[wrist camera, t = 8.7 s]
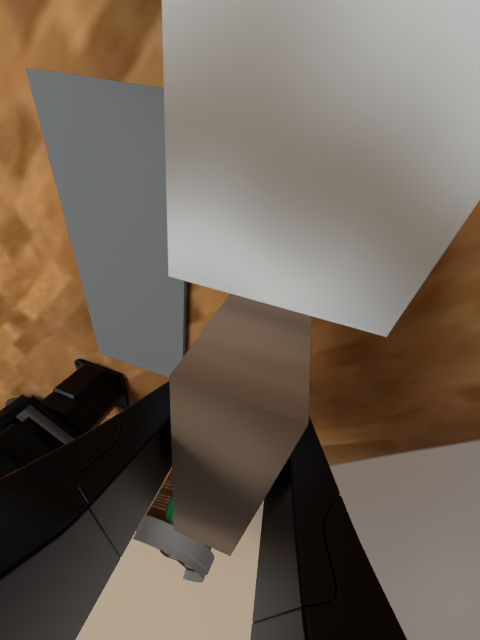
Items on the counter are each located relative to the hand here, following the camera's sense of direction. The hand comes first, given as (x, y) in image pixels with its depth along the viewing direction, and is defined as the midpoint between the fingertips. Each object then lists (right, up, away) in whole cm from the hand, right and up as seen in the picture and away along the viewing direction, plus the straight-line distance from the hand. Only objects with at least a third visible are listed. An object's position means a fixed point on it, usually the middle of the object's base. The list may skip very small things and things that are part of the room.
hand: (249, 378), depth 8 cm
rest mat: (-9, +6, +10) cm, 15 cm away
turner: (+1, +1, 0) cm, 2 cm away
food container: (-4, -21, +26) cm, 33 cm away
